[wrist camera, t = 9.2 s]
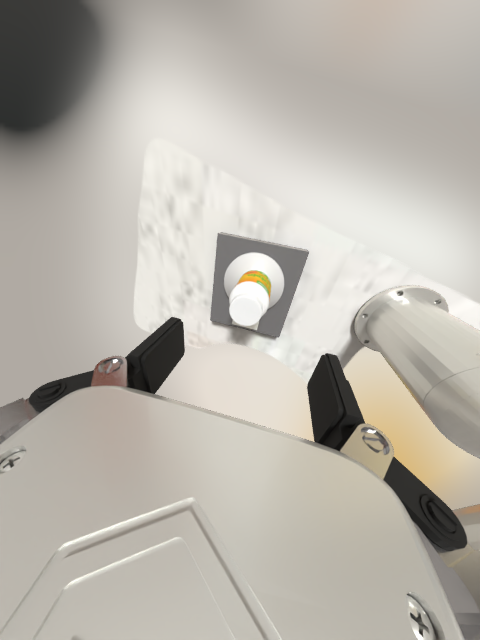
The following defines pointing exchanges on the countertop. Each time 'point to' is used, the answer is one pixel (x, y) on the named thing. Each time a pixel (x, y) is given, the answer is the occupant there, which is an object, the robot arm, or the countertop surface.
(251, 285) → the supplement bottle
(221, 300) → the scale
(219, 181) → the countertop surface
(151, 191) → the countertop surface
